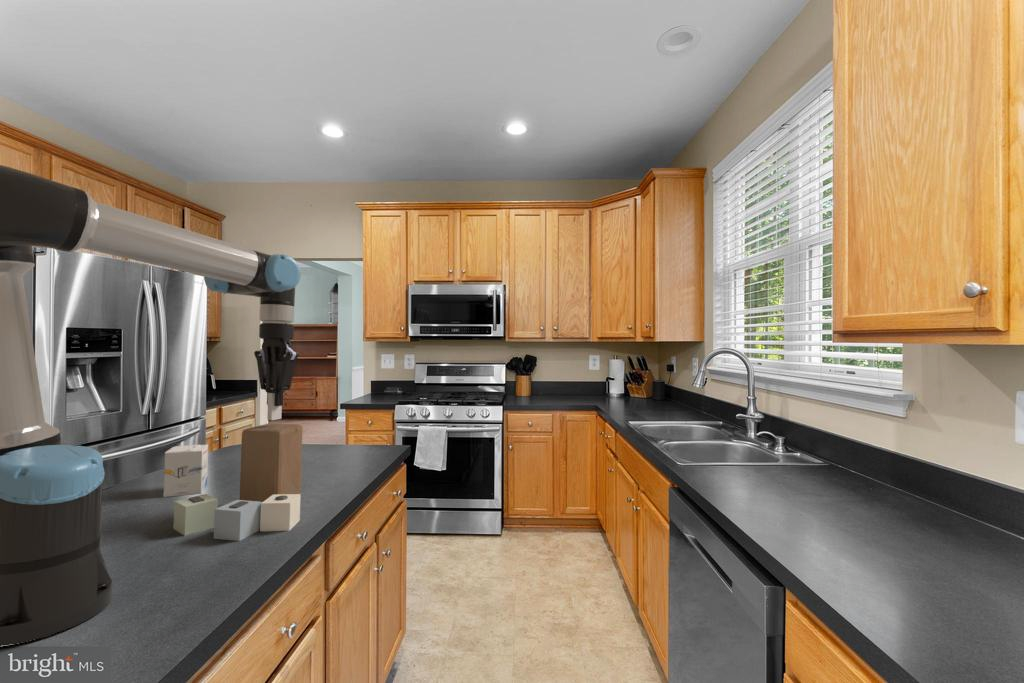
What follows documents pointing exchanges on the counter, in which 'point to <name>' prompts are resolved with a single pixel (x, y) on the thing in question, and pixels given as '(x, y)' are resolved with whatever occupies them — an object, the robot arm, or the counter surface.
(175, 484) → the ink box
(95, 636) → the counter surface
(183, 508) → the marked cube sage
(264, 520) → the marked cube cream
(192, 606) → the counter surface
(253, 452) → the wooden block
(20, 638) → the robot arm
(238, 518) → the marked cube slate
